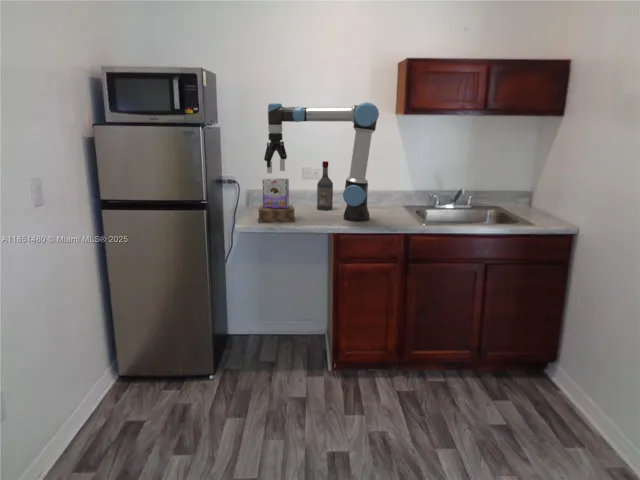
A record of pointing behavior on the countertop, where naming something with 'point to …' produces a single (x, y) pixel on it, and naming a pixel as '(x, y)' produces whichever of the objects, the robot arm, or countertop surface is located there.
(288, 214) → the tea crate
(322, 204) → the liquor
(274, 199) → the candy box
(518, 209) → the countertop surface
